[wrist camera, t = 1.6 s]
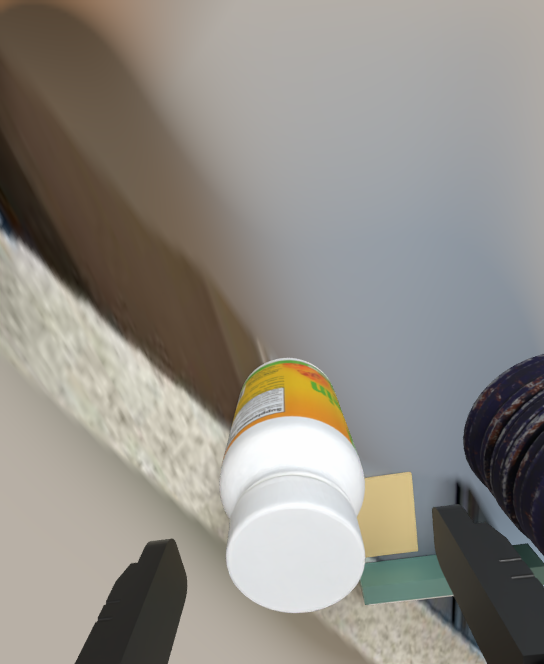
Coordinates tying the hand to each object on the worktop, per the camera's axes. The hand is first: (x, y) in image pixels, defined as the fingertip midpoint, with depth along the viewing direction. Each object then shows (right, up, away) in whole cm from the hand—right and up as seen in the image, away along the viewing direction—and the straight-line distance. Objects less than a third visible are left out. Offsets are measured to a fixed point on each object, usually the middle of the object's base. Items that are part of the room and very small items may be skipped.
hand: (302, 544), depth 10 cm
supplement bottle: (0, +3, +9) cm, 9 cm away
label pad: (+5, -5, +11) cm, 13 cm away
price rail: (+10, -9, +11) cm, 18 cm away
